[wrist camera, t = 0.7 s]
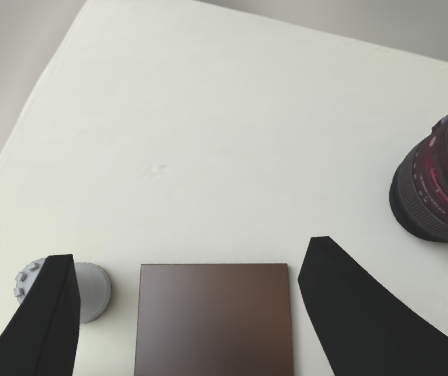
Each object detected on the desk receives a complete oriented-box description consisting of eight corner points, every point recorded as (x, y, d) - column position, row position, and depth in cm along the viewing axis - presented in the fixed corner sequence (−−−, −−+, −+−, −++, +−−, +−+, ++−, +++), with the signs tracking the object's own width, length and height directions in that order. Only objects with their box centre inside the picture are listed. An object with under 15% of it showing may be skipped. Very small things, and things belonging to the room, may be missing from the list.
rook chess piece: (87, 335, 29) (38, 341, 22) (42, 301, 30) (-21, 295, 22) (124, 284, 30) (90, 272, 23) (80, 252, 31) (32, 230, 24)
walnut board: (297, 495, 26) (300, 503, 25) (130, 496, 26) (126, 503, 25) (285, 265, 31) (287, 263, 30) (144, 266, 31) (140, 264, 30)
